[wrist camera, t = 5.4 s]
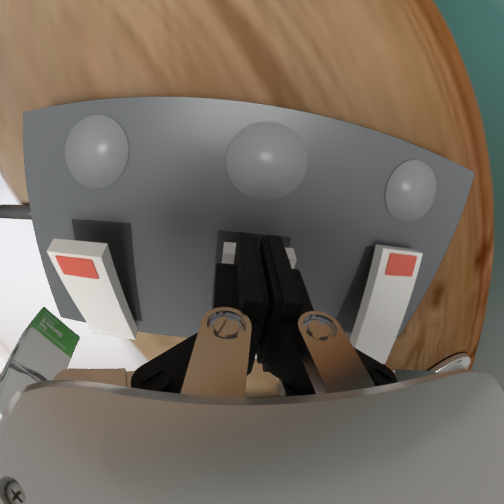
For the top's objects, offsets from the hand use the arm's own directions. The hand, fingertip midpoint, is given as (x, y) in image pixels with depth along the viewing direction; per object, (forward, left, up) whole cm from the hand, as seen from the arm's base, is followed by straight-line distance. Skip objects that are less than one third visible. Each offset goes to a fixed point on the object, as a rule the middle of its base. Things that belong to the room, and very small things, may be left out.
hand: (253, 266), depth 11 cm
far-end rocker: (-3, -8, -2) cm, 9 cm away
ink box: (-15, +19, -6) cm, 25 cm away
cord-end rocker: (-3, +8, -2) cm, 9 cm away
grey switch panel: (-1, +3, -6) cm, 6 cm away
